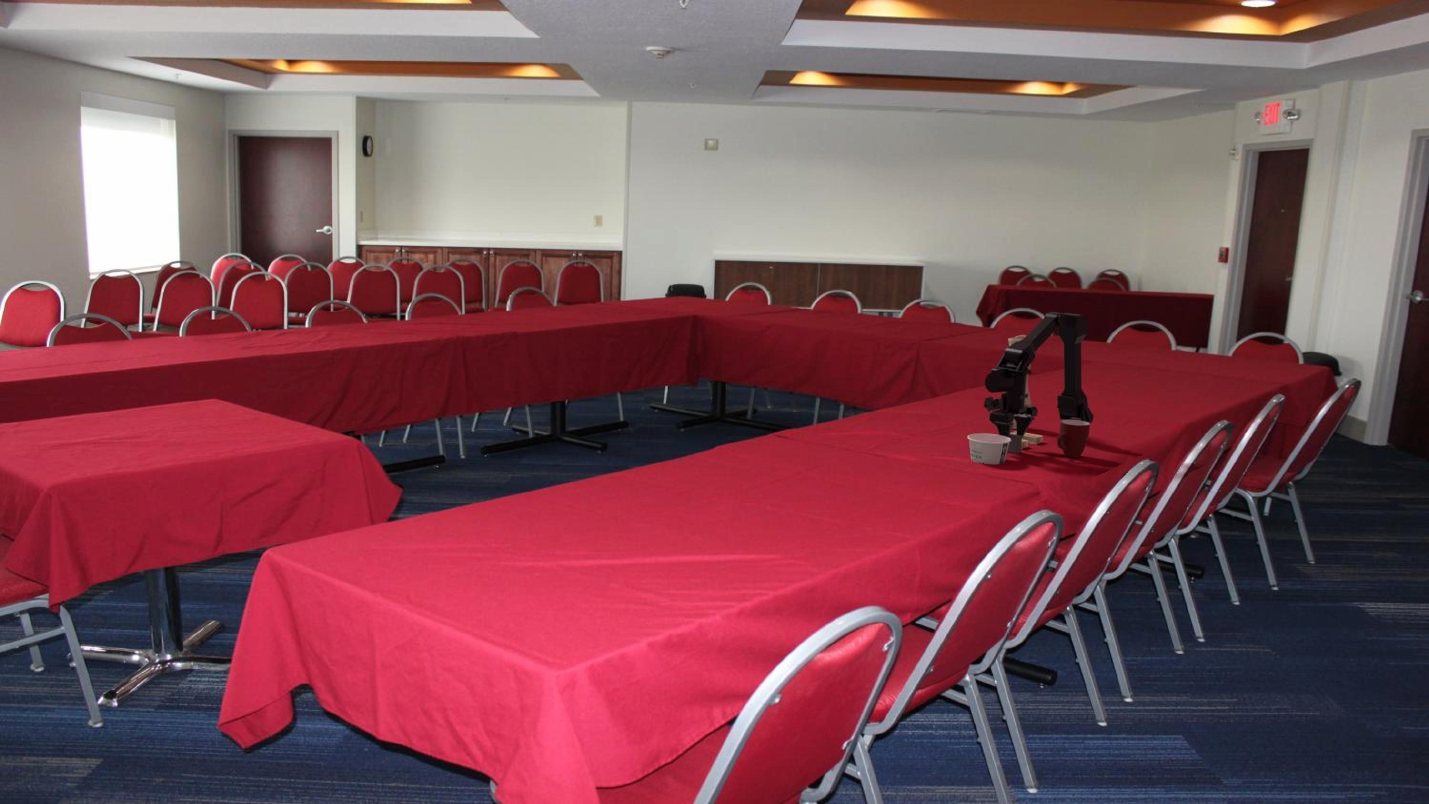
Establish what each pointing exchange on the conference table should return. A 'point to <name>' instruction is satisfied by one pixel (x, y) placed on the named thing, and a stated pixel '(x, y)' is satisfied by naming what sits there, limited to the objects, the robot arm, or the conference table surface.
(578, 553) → the conference table surface
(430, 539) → the conference table surface
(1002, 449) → the food container
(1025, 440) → the notch board
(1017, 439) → the grey block
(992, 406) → the robot arm
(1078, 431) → the mug
